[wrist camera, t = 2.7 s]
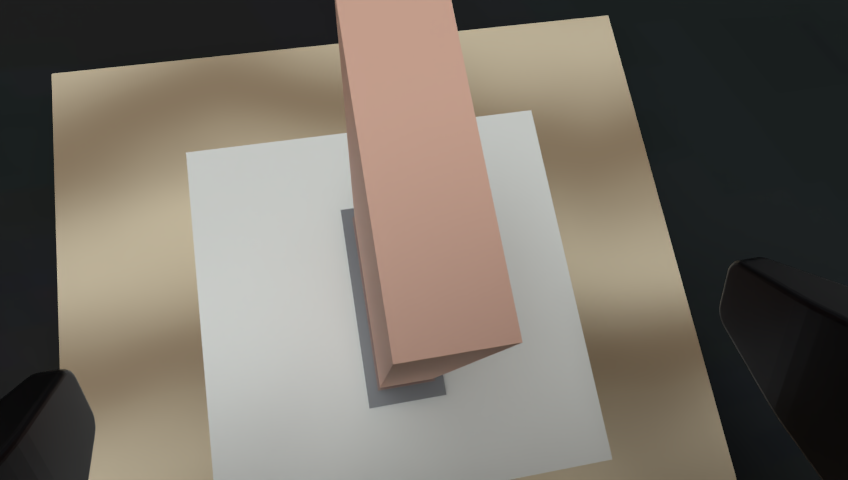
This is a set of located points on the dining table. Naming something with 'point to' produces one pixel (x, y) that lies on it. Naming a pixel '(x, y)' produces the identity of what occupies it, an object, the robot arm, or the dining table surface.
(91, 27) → the dining table surface
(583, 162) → the base board
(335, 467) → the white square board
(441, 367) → the salmon pink flat block
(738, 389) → the dining table surface
